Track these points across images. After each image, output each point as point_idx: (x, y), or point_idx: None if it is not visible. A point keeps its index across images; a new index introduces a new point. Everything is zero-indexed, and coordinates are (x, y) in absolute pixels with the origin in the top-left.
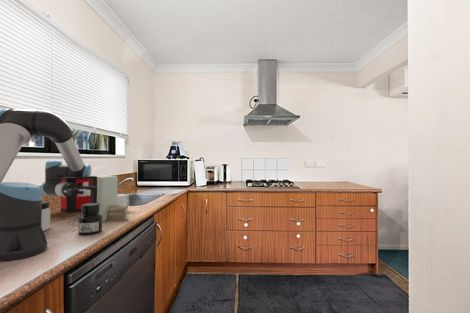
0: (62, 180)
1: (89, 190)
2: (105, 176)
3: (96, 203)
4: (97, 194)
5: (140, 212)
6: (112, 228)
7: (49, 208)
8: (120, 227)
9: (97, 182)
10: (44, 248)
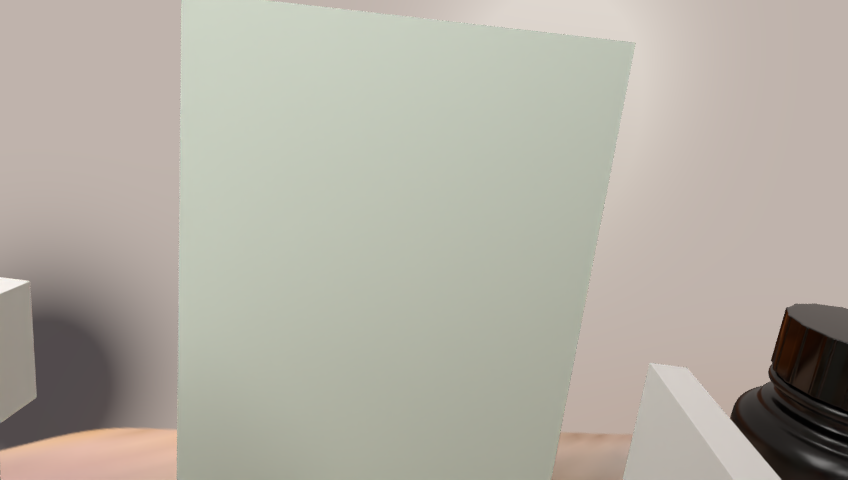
0: None
1: (675, 375)
2: (412, 17)
3: (810, 316)
4: (570, 370)
5: (24, 472)
6: None
7: None
8: (583, 437)
9: (613, 152)
10: None
